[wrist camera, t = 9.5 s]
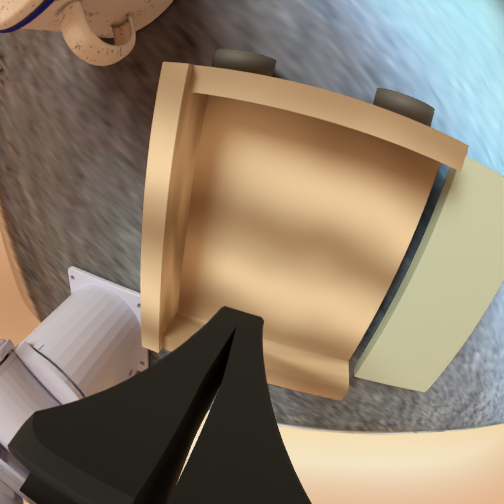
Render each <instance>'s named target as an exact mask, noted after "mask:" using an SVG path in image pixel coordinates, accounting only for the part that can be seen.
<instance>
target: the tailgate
mask: <svg viewBox="0 0 504 504" xmlns="http://www.w3.org/2000/svg"><path fill="white" fill-rule="evenodd" d="M503 280H504V176H502V175H500V174H499V173H497V172H495V171H493V170H492V169H490V168H488V167H486V166H484V165H482V164H480V163H479V162H477V161H475V160H473V159H471V158H469V157H467V156H466V157H465V160H464V163H463V166H462V169H461V172H460V171H458V170H456V169H454V168H452V167H450V168H449V171H448V173H447V176H446V179H445V182H444V185H443V188H442V191H441V193H440V196H439V199H438V201H437V204H436V206H435V209H434V212H433V214H432V217H431V219H430V222H429V224H428V226H427V229H426V231H425V234H424V236H423V238H422V240H421V243H420V245H419V247H418V249H417V252H416V254H415V256H414V258H413V260H412V263H411V265H410V267H409V269H408V271H407V273H406V275H405V277H404V279H403V281H402V283H401V285H400V287H399V289H398V291H397V293H396V295H395V297H394V299H393V301H392V303H391V305H390V306H389V308H388V310H387V312H386V314H385V316H384V317H383V319H382V321H381V323H380V325H379V326H378V328H377V330H376V332H375V333H374V335H373V337H372V338H371V340H370V342H369V344H368V345H367V347H366V349H365V350H364V352H363V353H362V355H361V357H360V358H359V360H358V362H357V363H356V365H355V366H354V377H358V378H362V379H366V380H370V381H374V382H379V383H383V384H387V385H392V386H396V387H401V388H406V389H411V390H416V391H421V392H426V391H427V390H428V389H429V388H430V387H431V385H432V384H433V383H434V382H435V381H436V379H437V378H438V377H439V376H440V374H441V373H442V372H443V371H444V369H445V368H446V367H447V366H448V364H449V363H450V362H451V360H452V359H453V358H454V356H455V355H456V354H457V352H458V351H459V350H460V348H461V347H462V346H463V344H464V343H465V341H466V340H467V338H468V337H469V336H470V334H471V333H472V331H473V330H474V328H475V327H476V325H477V324H478V322H479V321H480V319H481V317H482V316H483V314H484V313H485V311H486V309H487V308H488V306H489V305H490V303H491V301H492V300H493V298H494V296H495V294H496V293H497V291H498V289H499V287H500V286H501V284H502V282H503Z"/></svg>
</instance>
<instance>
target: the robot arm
mask: <svg viewBox="0 0 504 504" xmlns="http://www.w3.org/2000/svg"><path fill="white" fill-rule="evenodd" d="M68 273H69V280H70V287H71V293H72V295H71V296H69V297H68V298H67V299H66V300H65V301H64V302H63V303H62V304H61V305H60V306H59V307H58V308H56V309H55V310H54V311H53V312H52V313H51V314H50V315H49V316H48V317H47V318H46V319H45V320H44V321H43V322H42V323H41V324H40V325H39V326H38V327H37V328H36V329H34V330H33V332H31V333H30V334H29V336H27V337H26V338H25V339H24V340H23V341H22V342H21V343H20V344H18V345H17V346H16V347H14V344H13V343H12V342H11V340H9V339H8V340H4V339H0V504H23V501H26V502H28V503H30V504H312V503H311V501H310V500H309V498H308V496H307V494H306V493H305V491H304V489H303V487H302V485H301V483H300V481H299V478H298V476H297V474H296V472H295V470H294V468H293V465H292V463H291V461H290V458H289V456H288V453H287V451H286V449H285V446H284V443H283V441H282V438H281V435H280V432H279V429H278V426H277V422H276V419H275V415H274V412H273V408H272V404H271V400H270V395H269V390H268V385H267V379H266V373H265V364H264V356H263V325H264V320H263V318H262V317H260V316H256V315H253V314H250V313H246V312H243V311H240V310H237V309H233V308H230V307H227V306H224V307H221V308H220V309H219V311H218V312H217V313H216V314H215V315H214V316H213V317H212V318H211V319H210V320H209V321H208V322H207V323H206V324H205V325H204V326H203V327H202V328H201V329H199V330H198V331H197V332H196V333H195V334H194V335H192V336H191V337H190V338H189V339H188V340H186V341H185V342H184V343H183V344H181V345H180V346H179V347H177V348H176V349H175V350H173V351H172V352H171V353H169V354H168V355H166V356H165V357H164V358H162V359H161V360H159V361H158V362H156V363H155V364H153V365H151V366H150V367H149V359H148V349H147V348H145V347H142V338H141V305H140V304H141V293H139V292H136V291H133V290H131V289H128V288H126V287H123V286H120V285H118V284H115V283H113V282H110V281H108V280H105V279H103V278H100V277H98V276H96V275H93V274H91V273H88V272H86V271H84V270H81V269H79V268H76V267H74V266H71V267H70V268H69V269H68ZM13 347H14V348H13ZM12 348H13V349H12ZM137 370H138V371H141V372H140V373H138V374H136V375H135V373H136V372H137ZM220 385H221V386H220ZM219 387H220V388H219ZM218 389H219V391H218ZM217 391H218V393H217ZM216 394H217V395H216ZM215 396H216V398H215ZM214 398H215V400H214ZM213 400H214V403H213V405H212V407H211V410H210V412H209V414H208V417H207V419H206V421H205V424H204V426H203V428H202V431H201V433H200V436H199V437H198V440H197V442H196V444H195V447H194V449H193V451H192V453H191V455H190V458H189V459H188V462H187V464H186V466H185V468H184V470H183V472H182V474H181V471H182V469H183V466H184V463H185V461H186V458H187V456H188V453H189V450H190V448H191V445H192V443H193V440H194V438H195V436H196V434H197V431H198V429H199V427H200V425H201V423H202V421H203V419H204V417H205V415H206V414H207V412H208V410H209V408H210V406H211V404H212V402H213ZM180 474H181V476H180ZM179 476H180V479H179ZM178 479H179V481H178ZM177 482H178V483H177ZM176 484H177V485H176Z"/></svg>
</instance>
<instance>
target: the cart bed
mask: <svg viewBox="0 0 504 504" xmlns="http://www.w3.org/2000/svg"><path fill="white" fill-rule="evenodd" d="M275 65H276V60H275V59H273V58H270V57H267V56H264V55H260V54H256V53H252V52H247V51H241V50H233V49H216V51H215V55H214V60H213V64H212V67H208V66H199V65H192V64H187V63H175V62H163V64H162V69H161V74H160V79H159V85H158V90H157V96H156V102H155V108H154V115H153V122H152V129H151V136H150V144H149V153H148V162H147V171H146V182H145V193H144V207H143V222H142V243H141V338H142V347H145V348H147V349H150V350H152V351H155V352H157V353H159V352H160V350H161V349H162V348H163V349H166V350H169V351H171V352H172V351H173V350H175V349H176V348H177V347H179V346H180V345H181V344H183V343H184V342H185V341H186V340H188V339H189V338H190V337H191V336H192V335H194V334H195V333H196V332H197V331H198V330H199V329H201V328H202V327H203V326H204V325H205V324H206V323H207V322H208V321H209V320H210V319H211V318H212V317H213V316H214V315H215V314H216V313H217V312H218V311H219V309H220V308H221V307H224V306H227V307H230V308H233V309H237V310H240V311H243V312H246V313H250V314H253V315H256V316H260V317H262V318H263V320H264V325H263V356H264V364H265V373H266V379H267V383H269V384H273V385H277V386H280V387H284V388H288V389H292V390H296V391H300V392H304V393H308V394H313V395H317V396H321V397H326V398H331V399H335V400H340V401H341V400H342V399H343V398H344V396H345V395H346V393H347V392H348V391H349V360H350V358H351V357H352V355H353V353H354V351H355V350H356V348H357V346H358V345H359V343H360V341H361V339H362V338H363V336H364V334H365V332H366V331H367V329H368V327H369V325H370V323H371V322H372V320H373V318H374V316H375V314H376V312H377V310H378V308H379V307H380V305H381V303H382V301H383V299H384V297H385V295H386V293H387V291H388V289H389V287H390V285H391V283H392V281H393V279H394V277H395V274H396V272H397V270H398V268H399V266H400V264H401V262H402V259H403V257H404V255H405V253H406V251H407V248H408V246H409V244H410V241H411V239H412V237H413V234H414V232H415V230H416V227H417V225H418V222H419V220H420V217H421V215H422V212H423V210H424V207H425V204H426V202H427V199H428V197H429V194H430V191H431V188H432V186H433V183H434V180H435V177H436V174H437V171H438V168H439V165H440V162H441V163H443V164H445V165H447V166H450V167H452V168H454V169H456V170H458V171H460V172H461V169H462V166H463V163H464V160H465V157H466V154H467V150H468V147H469V146H468V145H466V144H464V143H462V142H460V141H458V140H456V139H454V138H452V137H450V136H448V135H446V134H444V133H442V132H440V131H437V130H435V129H433V128H431V127H430V126H431V122H432V118H433V115H434V111H435V109H434V108H433V107H431V106H429V105H428V104H426V103H424V102H422V101H420V100H418V99H415V98H413V97H410V96H408V95H405V94H402V93H399V92H396V91H392V90H388V89H383V88H377V91H376V95H375V99H374V103H373V105H372V104H370V103H367V102H364V101H361V100H358V99H355V98H351V97H348V96H345V95H342V94H338V93H335V92H331V91H328V90H324V89H321V88H317V87H313V86H309V85H305V84H301V83H297V82H293V81H289V80H284V79H280V78H275V77H273V73H274V69H275Z"/></svg>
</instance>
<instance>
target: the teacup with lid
mask: <svg viewBox="0 0 504 504" xmlns="http://www.w3.org/2000/svg"><path fill="white" fill-rule="evenodd" d="M172 2H173V0H0V33H8V32H12V31H15V30H18V29H37V30H50V31H59V32H62V34H63V37H64V39H65V41H66V43H67V45H68V46H69V47H70V49H71V50H72V51H73V52H74V53H75V54H76V55H77V56H78V57H79V58H80V59H82V60H83V61H85V62H87V63H89V64H92V65H97V66H107V65H111V64H114V63H116V62H118V61H120V60H121V59H123V58H124V57H125V56H127V55H128V54H129V53H130V52H131V51H132V49H133V47H134V45H135V40H136V33H135V31H137V30H139V29H141V28H143V27H144V26H146V25H148V24H149V23H150V22H152V21H153V20H155V19H156V18H157V17H158V16H159V15H160V14H161V13H163V12H164V11H165V10H166V9H167V7H168V6H169V5H170V4H171V3H172ZM98 37H102V38H114V45H110V44H107V43H105V42H103V41H102V40H101V39H99V38H98Z"/></svg>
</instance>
